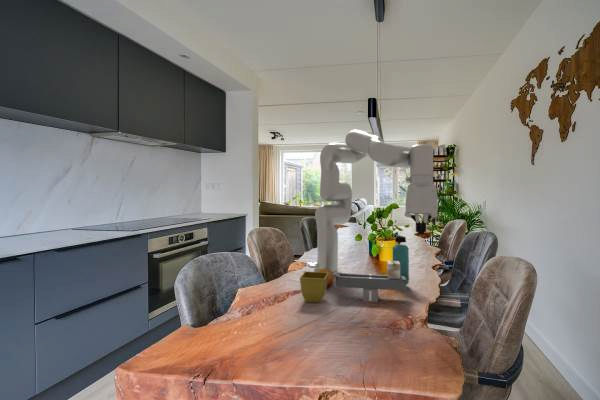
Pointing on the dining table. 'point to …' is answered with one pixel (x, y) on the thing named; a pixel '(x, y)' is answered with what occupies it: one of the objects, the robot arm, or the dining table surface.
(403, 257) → the beverage bottle
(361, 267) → the dining table surface
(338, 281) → the beam
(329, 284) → the fruit
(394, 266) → the rider
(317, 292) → the flower pot
